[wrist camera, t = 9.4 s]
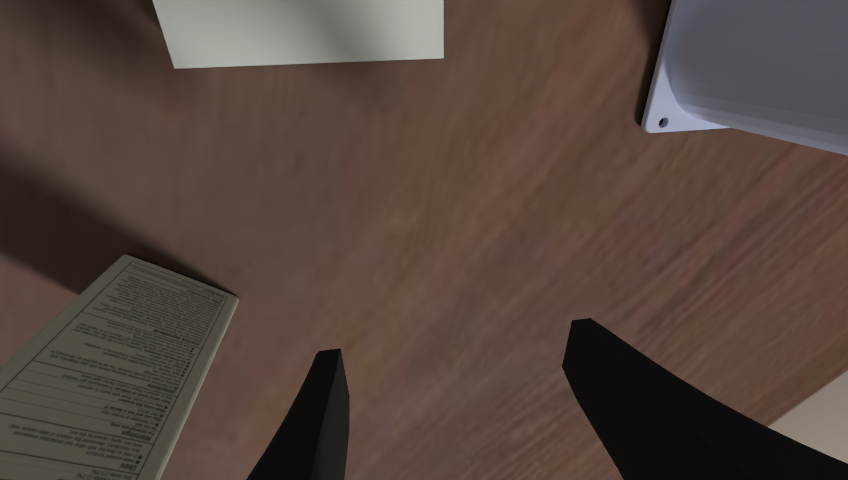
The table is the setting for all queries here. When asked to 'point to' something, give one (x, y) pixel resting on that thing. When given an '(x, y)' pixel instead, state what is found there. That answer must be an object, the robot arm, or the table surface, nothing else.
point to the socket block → (299, 31)
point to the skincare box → (111, 377)
